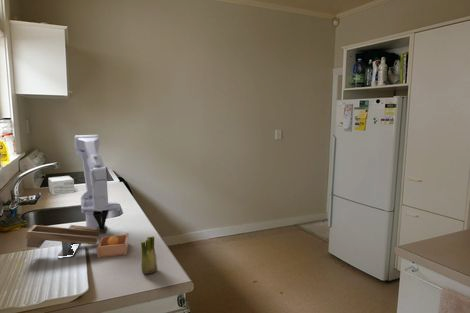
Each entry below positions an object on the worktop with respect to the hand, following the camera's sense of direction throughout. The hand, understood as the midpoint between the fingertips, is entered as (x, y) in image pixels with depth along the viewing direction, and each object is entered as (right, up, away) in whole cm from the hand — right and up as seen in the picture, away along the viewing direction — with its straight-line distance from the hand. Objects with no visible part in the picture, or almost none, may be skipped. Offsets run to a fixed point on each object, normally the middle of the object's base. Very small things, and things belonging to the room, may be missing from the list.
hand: (102, 228), depth 131 cm
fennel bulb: (+26, -9, -24) cm, 37 cm away
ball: (+8, -3, -8) cm, 12 cm away
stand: (-10, -7, -7) cm, 13 cm away
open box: (+8, -7, -8) cm, 13 cm away
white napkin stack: (-64, +5, +86) cm, 107 cm away
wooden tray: (-10, -3, -8) cm, 13 cm away
